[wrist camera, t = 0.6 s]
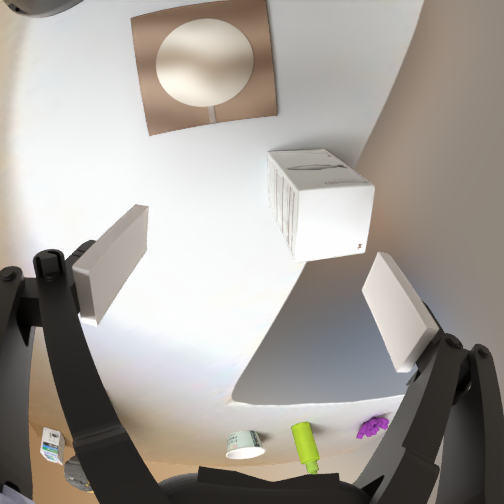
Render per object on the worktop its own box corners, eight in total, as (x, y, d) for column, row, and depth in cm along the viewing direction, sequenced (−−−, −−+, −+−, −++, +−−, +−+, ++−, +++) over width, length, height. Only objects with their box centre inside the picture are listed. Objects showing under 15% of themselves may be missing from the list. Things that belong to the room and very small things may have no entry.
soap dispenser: (304, 419, 77) (321, 476, 61) (311, 424, 81) (328, 477, 65) (287, 426, 78) (302, 482, 62) (295, 430, 82) (309, 483, 66)
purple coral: (362, 420, 100) (355, 440, 94) (364, 408, 91) (357, 431, 85) (388, 425, 94) (381, 446, 88) (393, 413, 85) (386, 436, 79)
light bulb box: (43, 426, 66) (39, 452, 57) (60, 431, 68) (57, 458, 59) (49, 436, 71) (46, 460, 62) (65, 440, 73) (63, 465, 64)
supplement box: (324, 147, 34) (379, 184, 23) (321, 201, 38) (366, 255, 27) (265, 149, 33) (298, 189, 22) (266, 206, 37) (295, 266, 27)
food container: (233, 427, 73) (236, 447, 68) (269, 429, 78) (273, 447, 72) (217, 440, 78) (219, 458, 73) (250, 442, 83) (253, 459, 77)
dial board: (132, 19, 21) (130, 17, 20) (263, 0, 23) (266, -3, 21) (150, 134, 29) (148, 136, 28) (275, 114, 30) (277, 115, 29)
